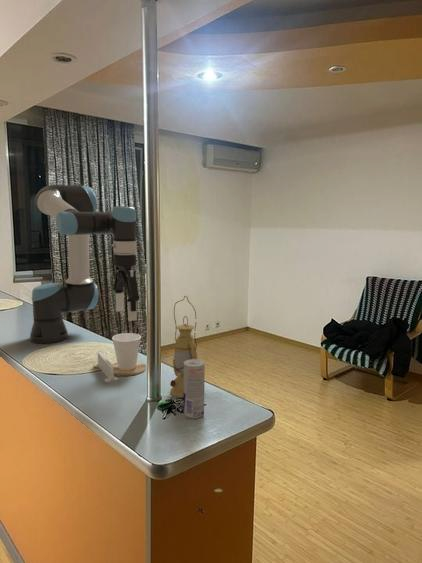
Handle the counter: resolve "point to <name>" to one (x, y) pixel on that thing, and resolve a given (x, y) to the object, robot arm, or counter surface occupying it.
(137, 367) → the cork coaster
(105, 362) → the acrylic wall
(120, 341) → the cup
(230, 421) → the counter surface
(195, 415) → the beverage can
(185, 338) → the lantern
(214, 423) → the counter surface
